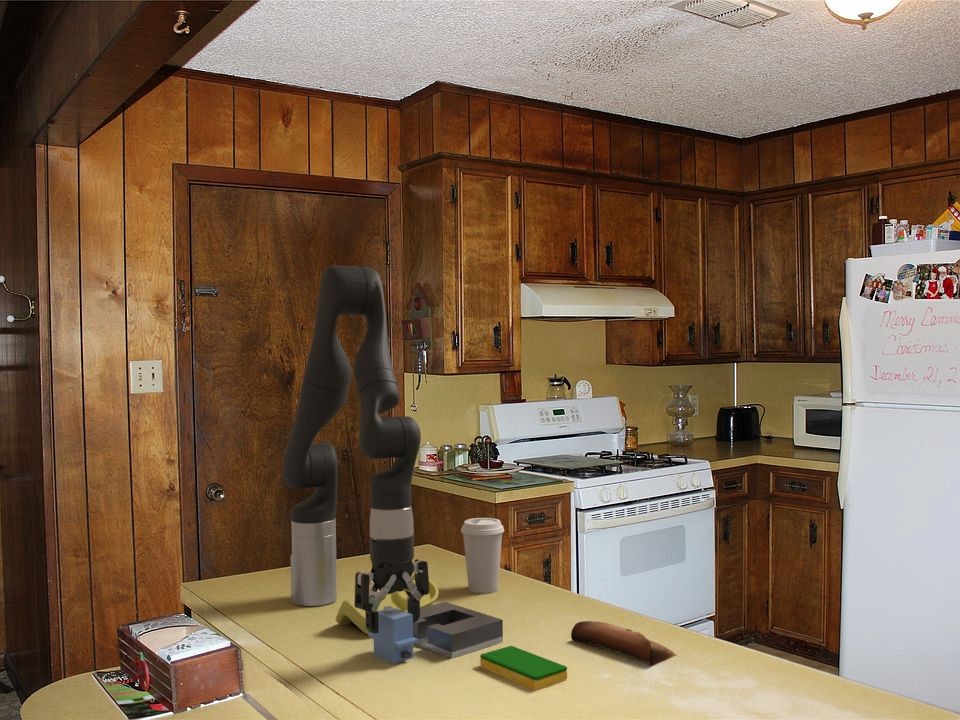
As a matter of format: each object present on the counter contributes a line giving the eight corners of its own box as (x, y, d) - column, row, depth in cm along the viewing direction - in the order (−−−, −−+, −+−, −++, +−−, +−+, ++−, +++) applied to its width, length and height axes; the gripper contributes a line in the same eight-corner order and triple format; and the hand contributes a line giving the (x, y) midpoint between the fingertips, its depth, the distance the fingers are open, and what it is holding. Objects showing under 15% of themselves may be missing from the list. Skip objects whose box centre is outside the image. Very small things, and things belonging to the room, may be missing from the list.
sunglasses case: (681, 653, 150) (668, 624, 148) (659, 684, 146) (646, 654, 144) (600, 630, 164) (588, 603, 161) (579, 657, 160) (565, 630, 157)
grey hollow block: (395, 636, 162) (395, 615, 162) (445, 622, 170) (445, 601, 170) (452, 658, 150) (451, 634, 150) (502, 641, 158) (502, 619, 158)
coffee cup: (478, 581, 200) (477, 515, 199) (513, 587, 194) (512, 519, 194) (452, 591, 192) (451, 522, 192) (488, 597, 186) (487, 527, 186)
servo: (400, 666, 147) (399, 616, 147) (368, 652, 153) (368, 605, 153) (418, 660, 149) (418, 611, 149) (387, 647, 156) (386, 600, 156)
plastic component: (373, 627, 161) (340, 595, 166) (364, 658, 163) (332, 626, 169) (448, 595, 175) (415, 567, 181) (438, 624, 178) (406, 595, 184)
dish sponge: (511, 659, 151) (511, 644, 151) (568, 681, 140) (568, 666, 140) (479, 668, 146) (479, 654, 146) (535, 692, 135) (535, 677, 135)
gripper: (411, 524, 159) (412, 613, 159) (344, 536, 149) (346, 631, 149) (437, 529, 153) (439, 622, 153) (370, 542, 144) (372, 641, 144)
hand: (393, 626), depth 151 cm, fingers open, 8 cm apart
